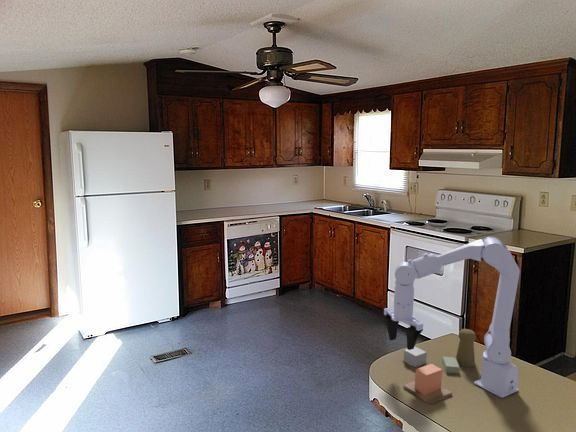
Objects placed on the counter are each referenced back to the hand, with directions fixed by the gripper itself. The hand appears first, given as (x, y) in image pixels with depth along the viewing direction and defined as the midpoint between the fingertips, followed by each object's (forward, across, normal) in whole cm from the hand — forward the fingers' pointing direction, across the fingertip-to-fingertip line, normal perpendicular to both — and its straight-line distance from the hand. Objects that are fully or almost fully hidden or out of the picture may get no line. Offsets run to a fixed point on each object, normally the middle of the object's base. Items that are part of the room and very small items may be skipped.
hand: (401, 344), depth 145 cm
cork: (+10, +6, +23) cm, 26 cm away
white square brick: (+10, -2, +9) cm, 13 cm away
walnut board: (+9, +12, -1) cm, 15 cm away
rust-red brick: (+9, +12, -1) cm, 15 cm away
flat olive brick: (+10, +6, +16) cm, 20 cm away
